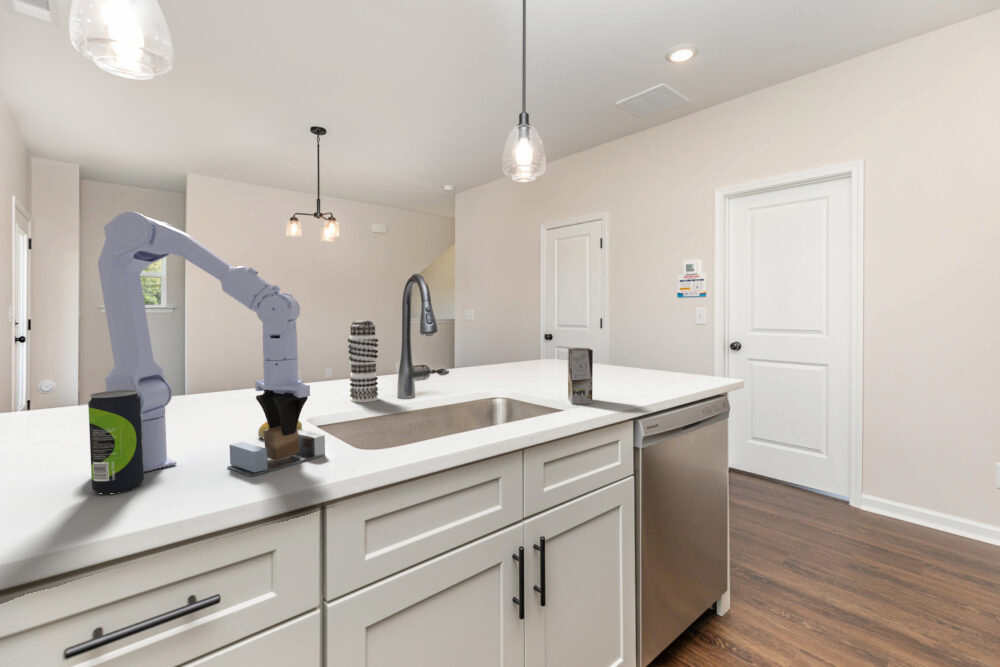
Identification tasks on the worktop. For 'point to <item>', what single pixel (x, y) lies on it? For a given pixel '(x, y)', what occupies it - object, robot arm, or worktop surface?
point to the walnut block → (280, 443)
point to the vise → (308, 447)
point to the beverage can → (115, 441)
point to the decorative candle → (363, 361)
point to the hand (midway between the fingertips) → (282, 432)
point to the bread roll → (265, 427)
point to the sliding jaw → (248, 456)
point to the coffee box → (580, 375)
